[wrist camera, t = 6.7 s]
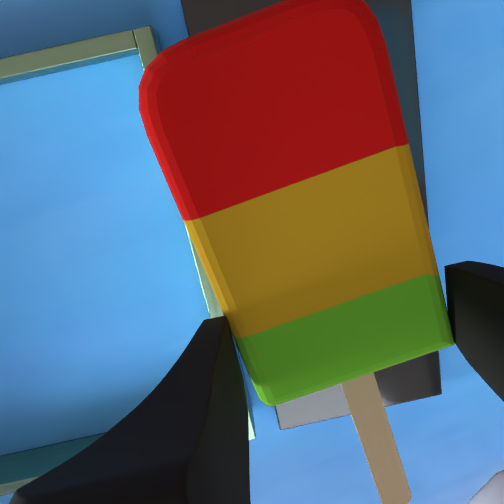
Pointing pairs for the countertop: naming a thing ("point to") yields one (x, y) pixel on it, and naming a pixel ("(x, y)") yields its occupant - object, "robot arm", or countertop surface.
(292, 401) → the slate board
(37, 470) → the baking frame
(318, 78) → the popsicle
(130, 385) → the countertop surface
